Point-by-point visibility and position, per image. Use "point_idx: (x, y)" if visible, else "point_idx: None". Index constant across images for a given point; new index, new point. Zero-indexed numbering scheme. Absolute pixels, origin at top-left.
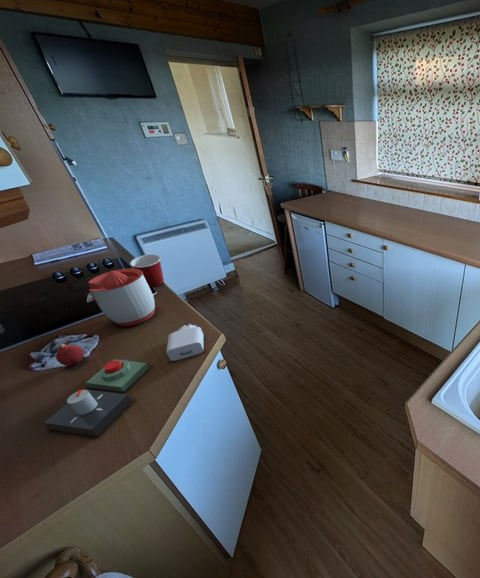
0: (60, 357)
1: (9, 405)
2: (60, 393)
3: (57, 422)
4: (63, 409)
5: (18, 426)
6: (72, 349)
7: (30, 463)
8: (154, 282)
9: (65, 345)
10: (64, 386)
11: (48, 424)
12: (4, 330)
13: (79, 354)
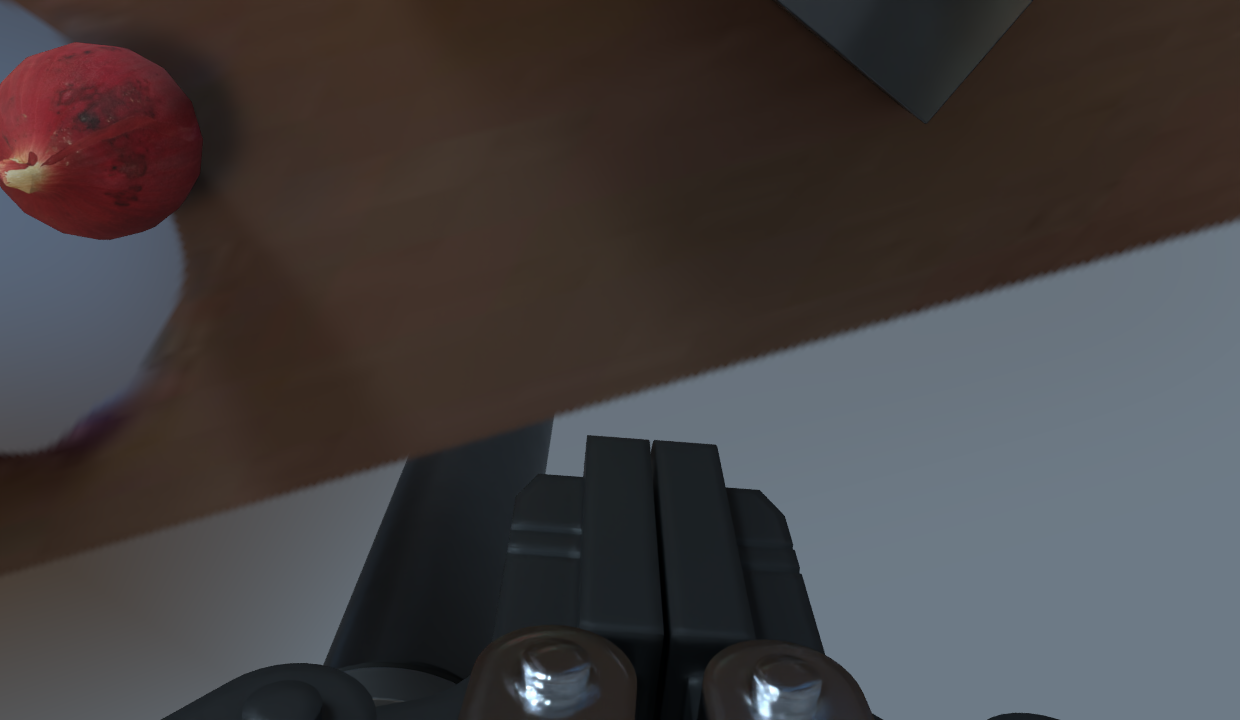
0: (157, 188)
1: (481, 425)
2: (507, 150)
3: (988, 26)
4: (853, 21)
5: (734, 313)
6: (77, 100)
7: (1145, 146)
8: None
9: (27, 153)
10: (430, 143)
11: (947, 94)
12: (590, 435)
13: (122, 59)
